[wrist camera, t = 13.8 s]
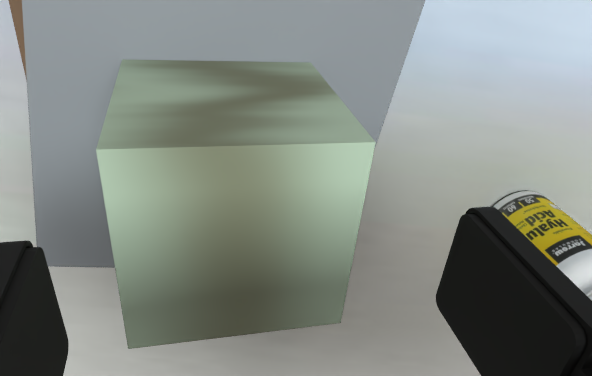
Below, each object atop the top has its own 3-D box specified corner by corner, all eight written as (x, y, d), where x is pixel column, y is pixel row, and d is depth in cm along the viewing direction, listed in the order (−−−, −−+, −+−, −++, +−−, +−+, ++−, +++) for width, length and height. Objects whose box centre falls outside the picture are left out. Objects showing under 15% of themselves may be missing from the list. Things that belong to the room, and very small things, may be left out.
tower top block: (381, -22, 19) (426, -4, 15) (310, 220, 24) (332, 271, 21) (49, -102, 15) (15, -101, 12) (58, 206, 21) (38, 266, 17)
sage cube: (310, 62, 15) (375, 142, 11) (295, 209, 19) (340, 323, 14) (121, 59, 14) (95, 149, 9) (140, 218, 17) (128, 349, 12)
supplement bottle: (527, 174, 31) (653, 272, 23) (556, 214, 34) (677, 315, 26) (462, 225, 32) (561, 336, 24) (496, 260, 35) (594, 370, 27)
